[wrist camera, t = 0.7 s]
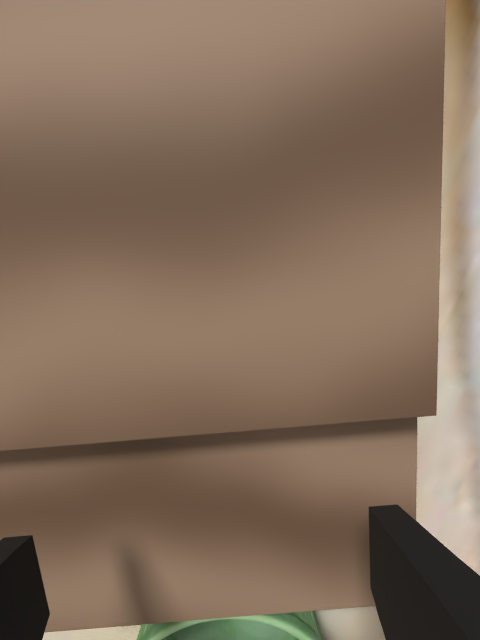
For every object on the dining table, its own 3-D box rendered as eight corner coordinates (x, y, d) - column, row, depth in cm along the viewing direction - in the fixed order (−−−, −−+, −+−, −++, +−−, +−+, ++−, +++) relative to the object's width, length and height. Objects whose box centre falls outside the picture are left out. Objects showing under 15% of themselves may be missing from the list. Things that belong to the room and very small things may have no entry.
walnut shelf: (363, 494, 20) (431, 636, 13) (75, 517, 20) (-7, 671, 13) (353, 4, 15) (449, -168, 9) (-17, 35, 16) (-213, -112, 9)
